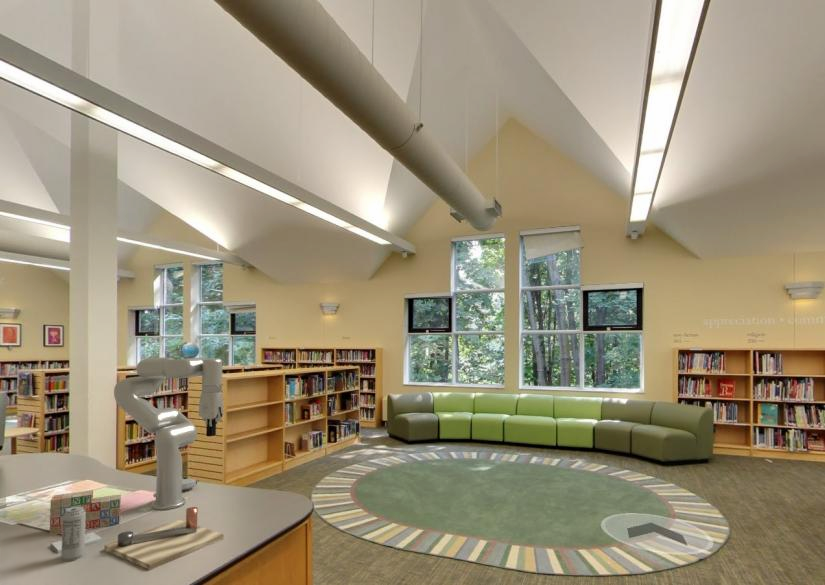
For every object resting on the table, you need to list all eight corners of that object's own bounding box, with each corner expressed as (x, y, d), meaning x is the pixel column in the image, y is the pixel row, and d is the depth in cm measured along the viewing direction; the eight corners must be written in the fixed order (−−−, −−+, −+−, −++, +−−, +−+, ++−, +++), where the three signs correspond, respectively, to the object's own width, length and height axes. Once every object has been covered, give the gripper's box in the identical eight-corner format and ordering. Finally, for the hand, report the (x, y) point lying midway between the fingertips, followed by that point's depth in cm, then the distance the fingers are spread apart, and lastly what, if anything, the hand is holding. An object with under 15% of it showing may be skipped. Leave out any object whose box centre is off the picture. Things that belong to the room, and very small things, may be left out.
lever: (117, 547, 163) (118, 523, 163) (117, 542, 167) (118, 519, 167) (197, 532, 175) (198, 509, 175) (196, 527, 178) (196, 505, 179)
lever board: (104, 550, 165) (104, 544, 165) (178, 523, 187) (178, 518, 187) (149, 570, 151) (149, 564, 151) (223, 538, 173) (223, 533, 173)
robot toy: (159, 490, 228) (172, 495, 218) (159, 480, 229) (172, 484, 218) (187, 484, 237) (200, 489, 227) (187, 474, 238) (200, 478, 227)
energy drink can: (88, 553, 163) (89, 505, 164) (76, 561, 157) (78, 512, 158) (69, 553, 163) (70, 505, 164) (56, 562, 157) (58, 512, 158)
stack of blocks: (120, 519, 192) (121, 486, 193) (119, 524, 187) (120, 490, 188) (52, 529, 183) (53, 494, 184) (48, 535, 177) (50, 499, 178)
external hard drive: (50, 547, 168) (92, 535, 178) (57, 555, 163) (100, 542, 172) (50, 542, 168) (93, 531, 178) (57, 549, 163) (101, 537, 172)
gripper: (192, 389, 205) (191, 435, 203) (215, 391, 196) (214, 439, 195) (208, 387, 211) (207, 432, 210) (231, 389, 203) (231, 436, 201)
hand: (211, 435), depth 202 cm, fingers closed
